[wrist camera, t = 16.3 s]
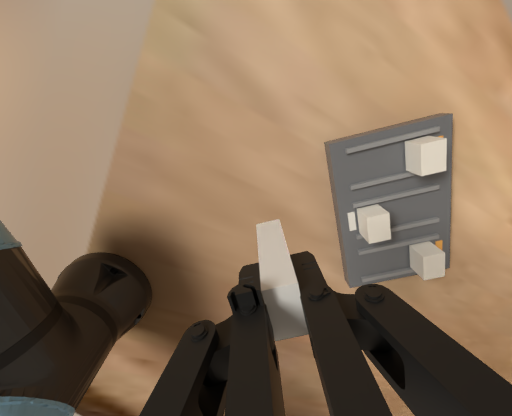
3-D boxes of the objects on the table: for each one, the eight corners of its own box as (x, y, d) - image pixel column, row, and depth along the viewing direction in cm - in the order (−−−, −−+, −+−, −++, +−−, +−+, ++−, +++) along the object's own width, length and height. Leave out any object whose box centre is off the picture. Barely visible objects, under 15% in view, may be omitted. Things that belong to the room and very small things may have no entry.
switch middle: (359, 232, 38) (369, 243, 35) (356, 208, 37) (366, 218, 34) (379, 228, 38) (391, 239, 35) (377, 203, 37) (389, 212, 33)
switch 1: (406, 170, 35) (421, 176, 32) (404, 141, 34) (420, 144, 30) (428, 165, 35) (446, 170, 32) (427, 135, 33) (446, 138, 30)
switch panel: (344, 278, 45) (351, 290, 42) (324, 142, 36) (330, 144, 34) (439, 259, 43) (452, 270, 40) (439, 113, 35) (456, 113, 32)
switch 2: (410, 266, 40) (423, 280, 37) (409, 245, 39) (423, 257, 36) (429, 262, 40) (444, 276, 37) (429, 241, 39) (445, 252, 36)
